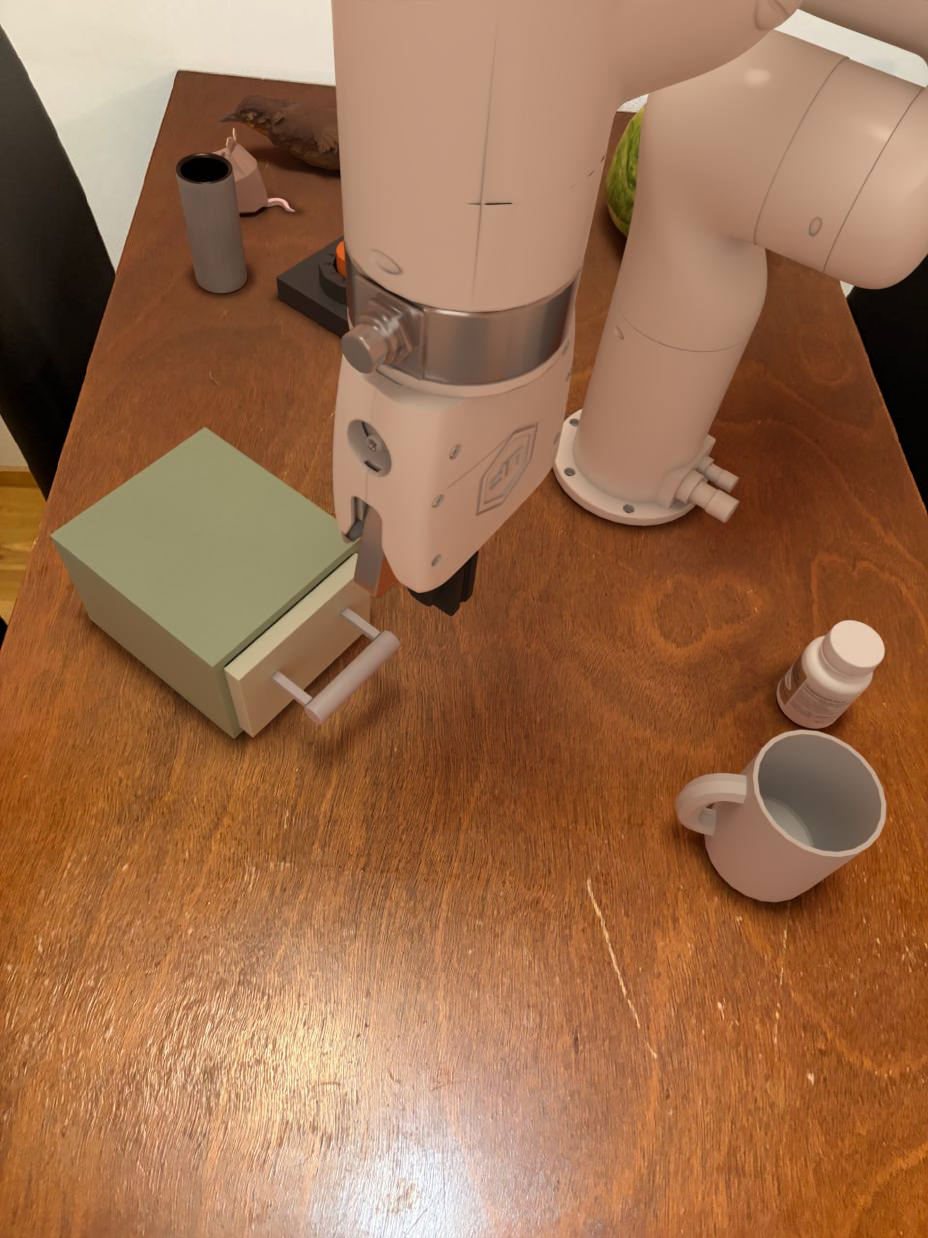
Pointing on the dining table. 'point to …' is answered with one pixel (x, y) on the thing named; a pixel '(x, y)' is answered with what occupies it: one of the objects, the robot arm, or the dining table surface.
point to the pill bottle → (830, 674)
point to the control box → (318, 289)
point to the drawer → (308, 653)
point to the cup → (786, 814)
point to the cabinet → (198, 563)
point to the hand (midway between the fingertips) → (437, 590)
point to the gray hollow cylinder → (212, 221)
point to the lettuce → (624, 175)
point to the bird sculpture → (293, 128)
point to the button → (340, 259)
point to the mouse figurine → (248, 179)
